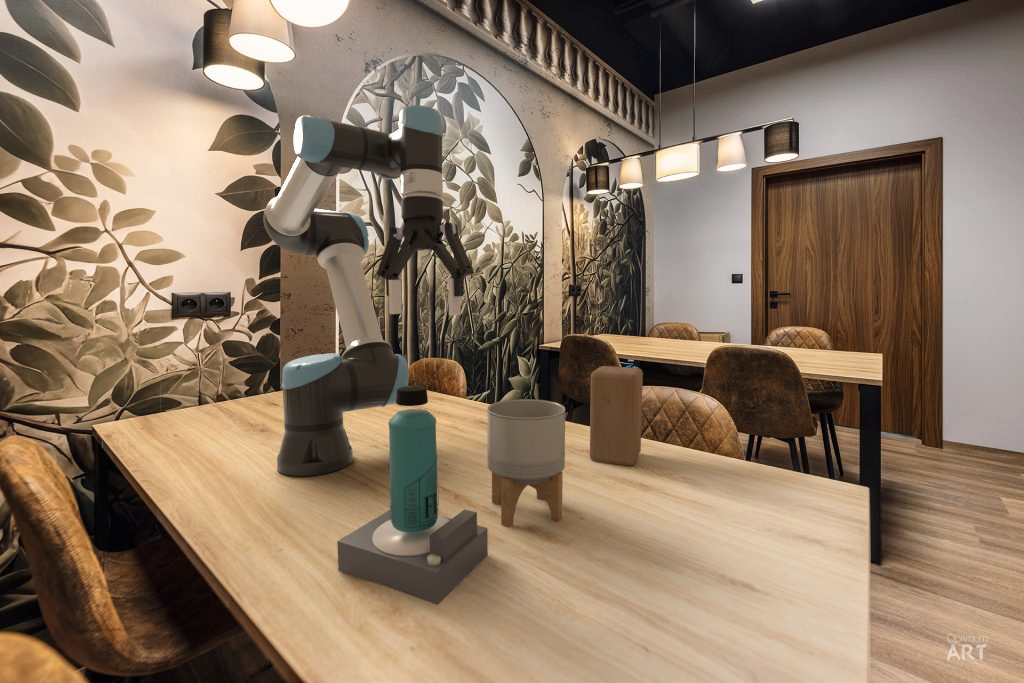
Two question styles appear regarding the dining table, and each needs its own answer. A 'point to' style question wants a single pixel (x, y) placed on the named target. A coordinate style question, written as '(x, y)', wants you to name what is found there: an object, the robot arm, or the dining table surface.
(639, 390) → the wooden block
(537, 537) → the dining table surface
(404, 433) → the beverage bottle
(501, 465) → the planter
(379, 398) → the robot arm
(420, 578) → the domed button base
